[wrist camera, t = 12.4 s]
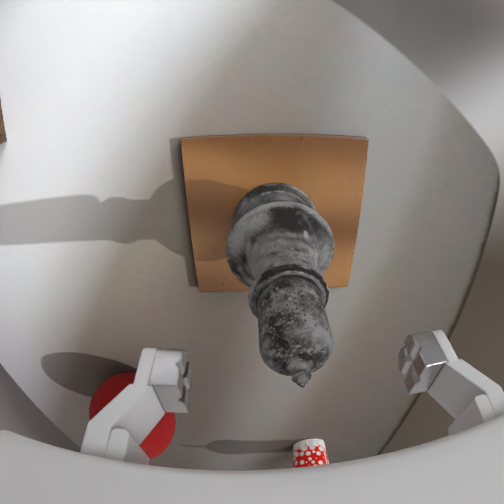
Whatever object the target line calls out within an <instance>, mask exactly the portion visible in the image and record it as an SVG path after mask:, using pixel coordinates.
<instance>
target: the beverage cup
mask: <svg viewBox="0 0 504 504" xmlns="http://www.w3.org/2000/svg"><path fill="white" fill-rule="evenodd" d="M293 461H294V468H299V467H309V466H317V465H325V464H329V462H328V457H327V453H326V448H325V444H324V441H323V440H321V439H306V440H302V441H299V442H297V443H295V444H294V445H293Z"/></svg>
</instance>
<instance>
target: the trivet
mask: <svg viewBox="0 0 504 504" xmlns="http://www.w3.org/2000/svg"><path fill="white" fill-rule="evenodd" d="M181 150H182V161H183V171H184V181H185V190H186V199H187V208H188V216H189V224H190V232H191V240H192V247H193V255H194V262H195V269H196V276H197V282H198V289H199V292H219V291H250V288H249V287H247V286H246V285H244V284H243V283H241V282H240V281H239V280H238V279H237V277H236V276H235V275H234V274H233V273H232V271H231V269H230V267H229V264H228V262H227V256H226V245H227V240H228V235H229V234H230V232H231V230H232V228H233V226H234V222H233V219H234V214H235V210H236V208H237V206H238V204H239V202H240V200H241V199H242V198H243V197H244V196H245V195H246V194H247V193H248V192H250V191H251V190H253V189H255V188H256V187H258V186H261V185H265V184H268V183H284V184H289V185H293V186H294V187H296V188H298V189H300V190H302V191H303V192H304V193H305V194H306V195H307V196H308V197H309V198H310V199H311V201H312V203H313V204H314V206H315V210H316V211H317V212H318V213H319V214H320V215H321V216H322V217H323V218H324V219H325V220H326V221H327V223H328V225H329V227H330V228H331V230H332V233H333V238H334V243H335V245H334V255H333V258H332V260H331V263H330V265H329V267H328V269H327V270H326V271H325V273H324V274H323V275H322V277H323V278H324V280H325V282H326V283H327V286H328V288H334V287H348V282H349V277H350V272H351V266H352V261H353V255H354V249H355V243H356V237H357V231H358V224H359V217H360V210H361V203H362V195H363V187H364V179H365V170H366V161H367V150H368V139H367V138H366V137H356V136H339V135H314V134H244V135H219V136H201V137H187V138H182V139H181Z"/></svg>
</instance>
